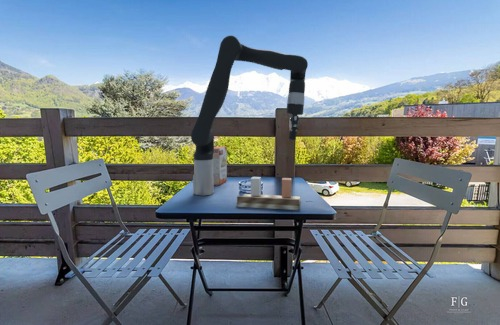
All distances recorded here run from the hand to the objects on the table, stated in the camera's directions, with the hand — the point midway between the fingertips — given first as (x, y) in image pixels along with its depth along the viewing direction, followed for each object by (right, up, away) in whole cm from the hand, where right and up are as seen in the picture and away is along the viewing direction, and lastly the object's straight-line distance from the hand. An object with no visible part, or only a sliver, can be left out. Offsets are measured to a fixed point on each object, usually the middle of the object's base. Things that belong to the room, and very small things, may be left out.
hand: (292, 139), depth 125 cm
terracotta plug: (-3, -26, -3) cm, 26 cm away
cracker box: (-37, -23, +34) cm, 55 cm away
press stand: (-11, -28, -6) cm, 31 cm away
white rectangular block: (-17, -25, 0) cm, 30 cm away
